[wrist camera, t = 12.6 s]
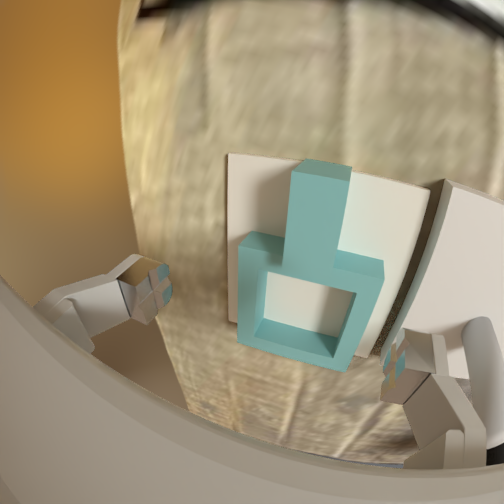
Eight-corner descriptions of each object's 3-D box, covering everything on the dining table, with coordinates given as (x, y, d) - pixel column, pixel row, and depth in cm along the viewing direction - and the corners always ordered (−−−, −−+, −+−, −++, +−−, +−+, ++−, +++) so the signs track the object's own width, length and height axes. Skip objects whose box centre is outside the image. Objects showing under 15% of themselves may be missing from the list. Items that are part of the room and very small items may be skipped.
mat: (231, 152, 19) (228, 153, 19) (428, 188, 15) (430, 191, 15) (231, 316, 27) (228, 320, 27) (367, 353, 23) (367, 358, 23)
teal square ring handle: (255, 151, 18) (229, 162, 15) (404, 179, 15) (415, 197, 12) (247, 324, 26) (230, 353, 23) (348, 351, 23) (342, 386, 20)
